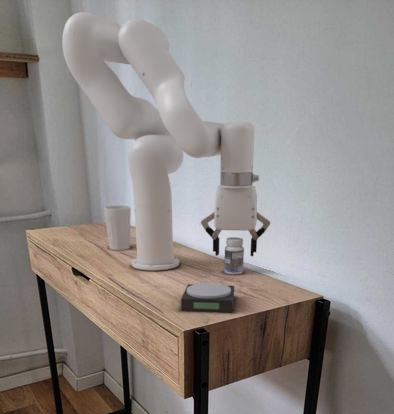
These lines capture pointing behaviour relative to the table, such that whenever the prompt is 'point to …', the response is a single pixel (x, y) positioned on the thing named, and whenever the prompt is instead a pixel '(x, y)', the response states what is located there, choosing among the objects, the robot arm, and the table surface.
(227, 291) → the scale
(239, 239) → the pill bottle
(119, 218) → the cup
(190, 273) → the table surface
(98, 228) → the table surface
